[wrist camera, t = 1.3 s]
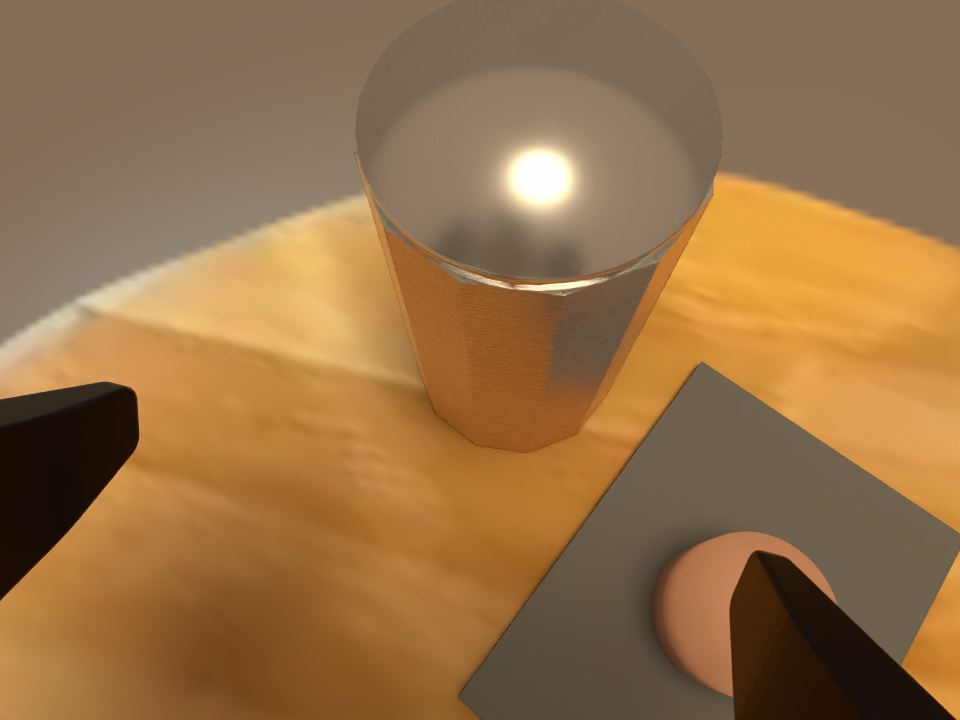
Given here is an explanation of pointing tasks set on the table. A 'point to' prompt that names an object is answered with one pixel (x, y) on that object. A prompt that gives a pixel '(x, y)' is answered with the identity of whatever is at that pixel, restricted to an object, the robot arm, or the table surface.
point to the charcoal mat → (695, 519)
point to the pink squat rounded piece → (711, 602)
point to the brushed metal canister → (533, 200)
